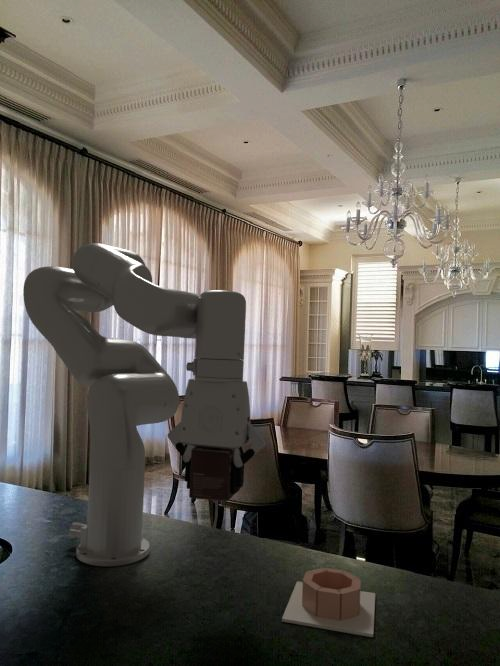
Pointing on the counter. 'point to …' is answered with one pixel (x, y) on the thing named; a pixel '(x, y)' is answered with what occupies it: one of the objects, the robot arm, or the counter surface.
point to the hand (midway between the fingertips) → (213, 488)
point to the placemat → (353, 625)
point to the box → (210, 473)
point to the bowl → (331, 593)
